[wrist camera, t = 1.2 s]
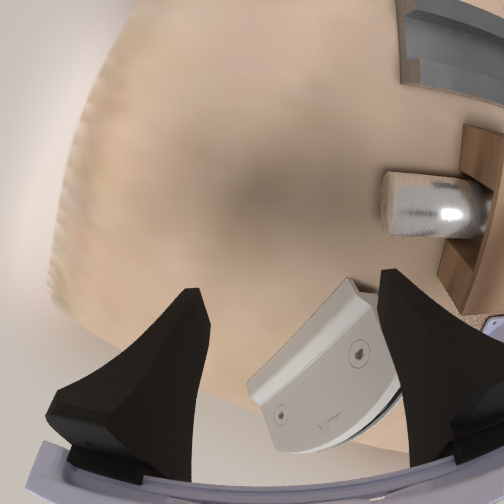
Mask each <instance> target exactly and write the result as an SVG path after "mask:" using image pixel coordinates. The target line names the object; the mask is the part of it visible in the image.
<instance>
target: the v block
mask: <svg viewBox="0 0 504 504" xmlns="http://www.w3.org/2000/svg"><path fill="white" fill-rule="evenodd" d="M395 1H396V10H397V20H398V32H399V48H400V78H401V84H404V85H410V86H416V87H422V88H427V89H433V90H438V91H442V92H447V93H452V94H456V95H460V96H464V97H468V98H472V99H476V100H480V101H483V102H487V103H490V104H493V105H497V106H500V107H503V108H504V19H503V18H501V17H499V16H497V15H494V14H492V13H490V12H487V11H485V10H483V9H480V8H478V7H475V6H473V5H470V4H467V3H465V2H462V1H459V0H395Z"/></svg>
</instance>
